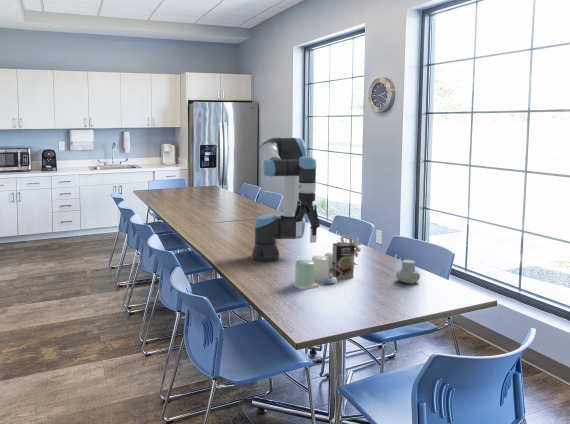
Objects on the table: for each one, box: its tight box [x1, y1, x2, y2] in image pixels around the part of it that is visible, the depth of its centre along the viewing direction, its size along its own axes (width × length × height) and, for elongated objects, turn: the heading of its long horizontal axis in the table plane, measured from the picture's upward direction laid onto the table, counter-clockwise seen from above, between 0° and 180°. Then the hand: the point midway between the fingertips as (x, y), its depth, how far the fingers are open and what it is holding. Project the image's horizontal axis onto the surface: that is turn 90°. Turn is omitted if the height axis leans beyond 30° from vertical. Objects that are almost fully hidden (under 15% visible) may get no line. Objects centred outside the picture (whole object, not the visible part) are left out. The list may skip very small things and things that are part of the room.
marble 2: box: [330, 276, 338, 285], centre depth 240 cm, size 3×3×3 cm
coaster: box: [291, 280, 319, 291], centre depth 237 cm, size 9×9×1 cm
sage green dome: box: [294, 259, 316, 286], centre depth 236 cm, size 8×8×10 cm
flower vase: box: [323, 232, 363, 271], centre depth 267 cm, size 13×18×25 cm
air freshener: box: [395, 259, 421, 285], centre depth 243 cm, size 11×8×10 cm
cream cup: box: [311, 255, 331, 282], centre depth 247 cm, size 8×8×10 cm
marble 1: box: [323, 278, 332, 285], centre depth 239 cm, size 3×3×3 cm
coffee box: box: [331, 242, 356, 280], centre depth 250 cm, size 9×6×16 cm
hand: (305, 239), depth 233 cm, fingers open, 13 cm apart
